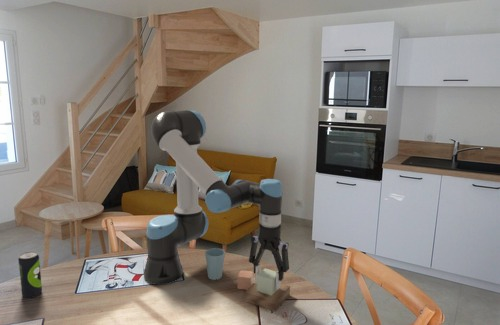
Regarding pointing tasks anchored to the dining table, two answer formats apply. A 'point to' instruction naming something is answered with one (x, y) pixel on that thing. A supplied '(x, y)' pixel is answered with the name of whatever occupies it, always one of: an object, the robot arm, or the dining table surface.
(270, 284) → the pale green cube
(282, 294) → the walnut block
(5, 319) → the dining table surface
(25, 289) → the beverage can
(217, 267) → the cup
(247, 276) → the terracotta cube
